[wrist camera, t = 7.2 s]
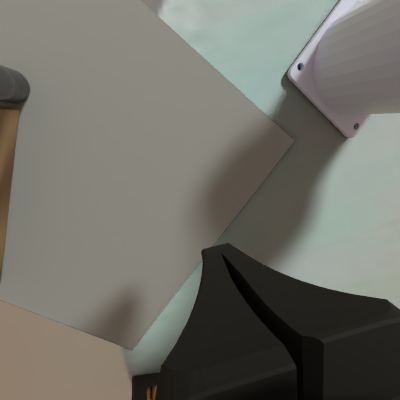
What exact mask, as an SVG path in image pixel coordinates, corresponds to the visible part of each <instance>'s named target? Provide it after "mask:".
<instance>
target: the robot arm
mask: <svg viewBox="0 0 400 400" xmlns="http://www.w3.org/2000/svg"><path fill="white" fill-rule="evenodd" d="M298 64H300V66H301V69H300V71H299V70H298V69H297V66H298ZM287 75H288V78H289V80H290V81H291V82H292V83H293V84H294V85H295V86H296V87H297V88H298V89H299V90H300V91H301V92H302V93H303V94H304V95H305V96H306V97H307V98H308V99H309V100H310V101H311V102H312V103H313V104H314V105H315V106H316V107H317V108H318V109H319V110H320V111H321V112H322V113H323V114H324V115H325V116H326V117H327V118H328V119H329V120H330V121H331V122H332V123H333V124H334V125H335V126H336V127H337V128H338V129H339V130H340V131H341V133H342V134H343V135H344V136H346V137H350V138H352V137H354V136H355V135H356V134H357V133H358V131H359V130H360V129H361V128H362V126H363V125H364V124H365V123H366V122H367V120H368V119H369V118H370V117H371V115H372V114H384V113H400V0H339V2H338V3H337V5H336V6H335V7H334V9H333V10H332V11H331V13H330V14H329V15H328V17H327V18H326V19H325V21H324V22H323V24H322V25H321V26H320V28H319V29H318V30H317V32H316V33H315V34H314V36H313V37H312V38H311V40H310V41H309V43H308V44H307V45H306V47H305V48H304V49H303V51H302V52H301V53H300V55H299V56H298V57H297V59H296V60H295V62H294V63H293V64H292V66H291V67H290V68H289V70H288V73H287ZM354 124H355V125H356V127H355V128H354ZM201 255H202V260H203V267H202V276H201V282H200V287H199V291H198V295H197V298H196V301H195V304H194V307H193V309H192V312H191V315H190V317H189V319H188V322H187V324H186V326H185V328H184V330H183V331H182V333H181V335H180V337H179V339H178V341H177V343H176V344H175V346H174V348H173V349H172V351H171V352H170V354H169V355H168V357H167V358H166V360H165V361H164V363H163V364H162V366H161V370H160V374H159V379H158V383H157V389H156V394H155V400H400V309H398V308H397V307H396V306H394V305H393V304H392V303H390V302H389V301H388V300H386V299H379V298H373V297H367V296H360V295H354V294H349V293H344V292H340V291H335V290H331V289H327V288H323V287H319V286H316V285H313V284H309V283H306V282H303V281H300V280H297V279H295V278H292V277H290V276H287V275H285V274H282V273H280V272H278V271H275V270H273V269H271V268H269V267H267V266H265V265H263V264H261V263H260V262H258V261H256V260H254V259H253V258H251V257H249V256H248V255H246V254H244V253H243V252H241V251H240V250H238V249H237V248H235V247H234V246H232V245H231V244H229V243H226V244H222V245H218V246H214V247H209V248H205V249H203V250H202V251H201Z"/></svg>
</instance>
